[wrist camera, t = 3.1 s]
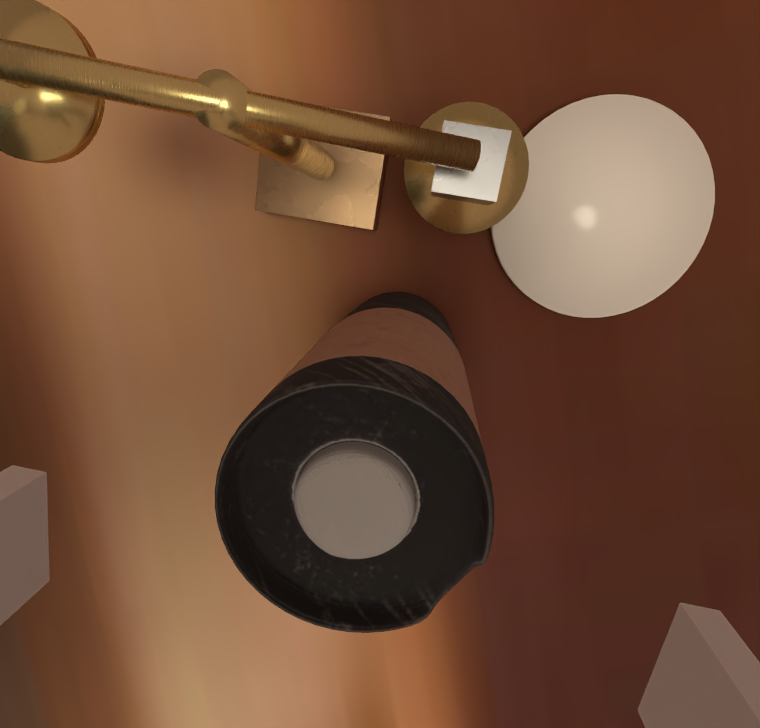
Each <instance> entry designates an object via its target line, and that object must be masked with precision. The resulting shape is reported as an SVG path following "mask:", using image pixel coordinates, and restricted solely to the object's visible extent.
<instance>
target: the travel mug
mask: <svg viewBox="0 0 760 728" xmlns="http://www.w3.org/2000/svg"><path fill="white" fill-rule="evenodd" d="M215 510H216V517H217V523H218V527H219V530H220V534H221V537H222V540H223V542H224V544H225V547H226V549H227V551H228V553H229V555H230V557H231V558H232V560H233V562H234V563H235V565H236V567H237V568H238V570H239V571H240V572H241V573H242V575H243V576H244V577H245V579H246V580H247V581H248V582H249V583H250V584H251V585H252V586H253V587H254V588H255V589H256V590H257V591H258V592H259V593H260V594H261V595H263V596H264V597H265V598H266V599H268V600H269V601H270V602H271V603H273V604H274V605H276V606H277V607H279V608H281V609H282V610H284V611H285V612H287V613H289V614H291V615H293V616H295V617H297V618H299V619H301V620H304V621H306V622H309V623H312V624H314V625H317V626H321V627H325V628H329V629H333V630H339V631H346V632H361V633H370V632H384V631H390V630H396V629H401V628H405V627H408V626H412V625H414V624H417V623H419V622H421V621H423V620H424V619H425V618H427V616H428V615H429V614H430V613H431V611H432V610H433V608H434V607H435V605H436V604H437V603H438V601H439V600H440V599H441V598H442V597H443V596H444V595H445V594H446V593H447V592H448V591H449V590H450V589H451V588H452V587H453V586H454V585H456V584H457V583H458V582H459V581H460V580H461V579H462V578H463V577H464V576H465V575H466V574H467V573H468V572H469V571H471V570H472V569H473V568H474V567H475V566H477V565H482V564H484V563H485V561H486V559H487V557H488V554H489V551H490V547H491V542H492V537H493V528H494V499H493V492H492V485H491V480H490V475H489V471H488V467H487V462H486V458H485V454H484V450H483V445H482V441H481V437H480V432H479V428H478V424H477V419H476V415H475V411H474V406H473V402H472V398H471V393H470V389H469V385H468V381H467V376H466V372H465V368H464V365H463V361H462V358H461V356H460V353H459V351H458V348H457V346H456V343H455V341H454V338H453V336H452V333H451V331H450V329H449V327H448V324H447V322H446V321H445V319H444V318H443V316H442V315H441V314H440V312H439V311H438V310H437V309H436V308H435V307H434V306H433V305H432V304H430V303H429V302H427V301H426V300H424V299H422V298H420V297H418V296H415V295H412V294H408V293H400V292H395V293H386V294H382V295H379V296H376V297H374V298H371V299H369V300H368V301H366V302H365V303H363V304H362V305H360V306H359V307H358V308H356V309H355V310H354V311H352V312H351V313H350V314H348V315H347V316H346V317H344V318H343V319H342V320H341V321H339V322H338V323H337V324H336V325H335V326H333V327H332V328H331V329H330V330H329V331H328V332H327V333H326V334H325V335H324V336H323V337H322V338H321V339H320V340H319V341H318V343H317V344H316V345H315V346H314V347H313V348H312V349H311V350H310V351H309V352H308V353H307V354H306V355H305V356H304V357H303V358H302V359H301V360H300V362H299V363H298V364H297V365H296V366H295V367H294V368H293V369H292V370H291V371H290V372H289V373H288V374H287V375H286V376H285V377H284V378H283V379H282V380H281V382H280V383H279V384H278V385H277V386H276V387H275V388H274V389H273V390H272V391H271V392H270V393H269V394H268V395H267V396H266V397H265V398H264V399H263V400H262V401H261V402H260V404H259V405H258V406H257V407H256V408H255V409H254V410H253V411H252V412H251V413H250V414H249V415H248V417H247V418H246V419H245V420H244V421H243V422H242V423H241V425H240V426H239V427H238V429H237V431H236V432H235V434H234V435H233V437H232V438H231V440H230V441H229V443H228V446H227V448H226V450H225V452H224V454H223V456H222V459H221V462H220V466H219V469H218V473H217V478H216V486H215Z"/></svg>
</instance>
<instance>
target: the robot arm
mask: <svg viewBox="0 0 760 728" xmlns="http://www.w3.org/2000/svg"><path fill="white" fill-rule="evenodd" d="M49 581H50V580H49V541H48V503H47V472H43V471H39V470H34V469H29V468H24V467H19V466H14V465H12V466H10V467H8V468H6V469H5V470H3V471H1V472H0V625H1V624H2V623H4V622H5V621H6V620H7V619H8V618H9V617H10V616H11V615H12V614H14V613H15V612H16V611H17V610H18V609H19V608H20V607H21V606H22V605H23V604H25V603H26V602H27V601H28V600H29V599H30V598H31V597H32V596H33V595H34V594H36V593H37V592H38V591H39V590H40V589H41V588H42V587H43V586H44V585H46V584H47V583H48V582H49ZM638 712H639V714H640V717H641V719H642V721H643V724H644V726H645V728H760V662H759V661H758V660H757V659H756V657H755V656H754V655H753V653H752V652H751V651H750V649H749V648H748V647H747V645H746V644H745V643H744V641H743V640H742V639H741V638H740V636H739V635H738V634H737V632H736V631H735V630H734V628H733V627H732V626H731V624H730V623H729V622H728V620H727V619H726V618H725V617H724V615H723V614H722V613H721V611H719V610H714V609H709V608H704V607H699V606H695V605H690V604H685V603H680V604H679V606H678V609H677V612H676V614H675V617H674V619H673V622H672V624H671V627H670V629H669V632H668V634H667V637H666V639H665V642H664V644H663V647H662V649H661V652H660V654H659V657H658V659H657V662H656V664H655V667H654V670H653V672H652V675H651V677H650V680H649V682H648V685H647V687H646V690H645V692H644V695H643V697H642V700H641V702H640V705H639V707H638Z"/></svg>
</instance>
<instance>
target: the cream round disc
mask: <svg viewBox="0 0 760 728" xmlns="http://www.w3.org/2000/svg"><path fill="white" fill-rule="evenodd" d="M524 140H525V143H526V146H527V150H528V156H529V173H528V179H527V183H526V186H525V189H524V191H523V194H522V196H521V198H520V200H519V201H518V203H517V204H516V206H515V207H514V208H513V210H512V211H511V212H510V213H509V214H508V215H507V216H506V217H505V218H504V219H503V220H501V221H500V222H499V223H497V224H495V225H494V226H492V227H490V230H491V238H492V242H493V246H494V250H495V253H496V255H497V258H498V261H499V263H500V265H501V266H502V268H503V270H504V272H505V273H506V275H507V276H508V277H509V279H510V280H511V281H512V283H513V284H514V285H515V286H516V287H517V288H518V289H519V290H520V291H521V292H523V293H524V294H525V295H527V296H528V297H529V298H531V299H532V300H533V301H535V302H537V303H538V304H540V305H542V306H544V307H546V308H548V309H550V310H553V311H555V312H558V313H561V314H565V315H569V316H574V317H584V318H599V317H607V316H614V315H617V314H621V313H625V312H628V311H631V310H633V309H636V308H638V307H641V306H642V305H644V304H646V303H648V302H650V301H652V300H654V299H655V298H656V297H658V296H659V295H661V294H662V293H664V292H665V291H666V290H667V289H669V288H670V287H671V286H672V285H673V284H674V283H675V282H676V281H677V280H678V279H679V278H680V277H681V276H682V275H683V274H684V273H685V272H686V271H687V269H688V268H689V266H690V265H691V264H692V262H693V261H694V259H695V258H696V256H697V255H698V253H699V251H700V249H701V247H702V245H703V243H704V241H705V238H706V236H707V233H708V231H709V228H710V224H711V220H712V216H713V210H714V202H715V184H714V177H713V170H712V167H711V163H710V160H709V157H708V154H707V152H706V150H705V148H704V146H703V143H702V142H701V140H700V139H699V137H698V136H697V134H696V133H695V131H694V130H693V129H692V128H691V127H690V126H689V125H688V124H687V122H686V121H685V120H683V119H682V118H681V117H680V116H679V115H677V114H676V113H675V112H674V111H672V110H670V109H668V108H667V107H665V106H663V105H662V104H659V103H657V102H654V101H652V100H649V99H646V98H642V97H637V96H633V95H621V94H613V95H600V96H595V97H590V98H586V99H583V100H580V101H577V102H574V103H571V104H569V105H567V106H565V107H563V108H561V109H559V110H557V111H556V112H554V113H553V114H551V115H550V116H548V117H546V118H545V119H544V120H542V121H541V122H540V123H539V124H538V125H536V126H535V127H534V128H533V129H532V130H531V131H530V132H529V133H528V134H527V135H526V136H525V137H524Z"/></svg>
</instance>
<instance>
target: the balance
mask: <svg viewBox="0 0 760 728" xmlns="http://www.w3.org/2000/svg"><path fill="white" fill-rule="evenodd" d="M105 100H110V101H115V102H120V103H125V104H130V105H135V106H140V107H145V108H150V109H156V110H161V111H166V112H171V113H176V114H181V115H186V116H191V117H196V118H198V120H199V121H200V122H201V123H202V124H203V125H205V126H206V127H208V128H210V129H212V130H214V131H216V132H218V133H220V134H222V135H224V136H227V137H229V138H231V139H233V140H235V141H237V142H239V143H241V144H243V145H245V146H247V147H249V148H252V149H254V150H256V151H258V152H260V160H259V171H258V182H257V193H256V205H255V210H258V211H264V212H270V213H276V214H282V215H288V216H294V217H300V218H306V219H311V220H317V221H323V222H329V223H335V224H341V225H347V226H353V227H359V228H365V229H371V230H377V223H378V217H379V210H380V204H381V197H382V191H383V184H384V178H385V171H386V165H387V158H388V156H392V157H397V158H402V159H405V164H404V179H405V186H406V190H407V193H408V196H409V198H410V200H411V202H412V204H413V206H414V208H415V209H416V210H417V212H418V213H419V214H420V215H421V216H422V217H423V218H424V219H425V220H426V221H427V222H428V223H430V224H431V225H433V226H434V227H436V228H438V229H441V230H443V231H446V232H450V233H457V234H470V233H475V232H479V231H483V230H486V229H488V228H490V227H492V226H494V225H495V224H497V223H499V222H500V221H501V220H503V219H504V218H505V217H506V216H507V215H508V214H509V213H510V212H511V211H512V210H513V208H514V207H515V206H516V204H517V203H518V201H519V200H520V198H521V196H522V194H523V191H524V189H525V186H526V183H527V179H528V173H529V156H528V150H527V146H526V143H525V140H524V137H523V135H522V133H521V132H520V130H519V128H518V127H517V125H516V124H515V123H514V122H513V121H512V120H511V119H510V117H508V116H507V115H506V114H505V113H503V112H502V111H500V110H499V109H497V108H495V107H493V106H490V105H487V104H483V103H479V102H461V103H456V104H452V105H450V106H447V107H444V108H443V109H441V110H439V111H437V112H436V113H434V114H433V115H431V116H430V117H429V118H428V119H427V120H426V121H424V123H423V124H422V125H421V126H420V127H416V126H411V125H407V124H402V123H397V122H393V121H391V118H390V117H388V116H381V115H375V114H369V113H362V112H356V111H349V110H343V109H337V108H330V107H324V106H318V105H313V104H308V103H303V102H299V101H294V100H289V99H285V98H280V97H275V96H271V95H266V94H261V93H257V92H252V91H251V90H250V89H249V88H247V87H246V86H245V85H244V84H242V83H241V82H240V81H239V80H237V79H236V78H235V77H234V76H232V75H231V74H230V73H228V72H226V71H223V70H219V69H213V70H209V71H206V72H204V73H203V74H201V75H200V76H199V77H198V78H197V80H196V79H191V78H186V77H182V76H177V75H172V74H167V73H163V72H158V71H153V70H149V69H144V68H139V67H135V66H130V65H125V64H121V63H116V62H111V61H106V60H102V59H97V58H96V55H95V53H94V51H93V49H92V48H91V46H90V44H89V43H88V41H87V40H86V38H85V37H84V36H83V34H82V33H81V32H80V31H79V30H78V29H77V28H76V27H75V26H74V25H73V24H72V23H71V22H70V21H69V20H67V19H66V18H65V17H63V16H62V15H60V14H59V13H57V12H55V11H54V10H52V9H50V8H49V7H47V6H45V5H43V4H41V3H40V2H37V1H35V0H0V151H2V152H4V153H6V154H8V155H10V156H13V157H15V158H18V159H23V160H27V161H33V162H38V163H57V162H62V161H65V160H68V159H71V158H72V157H74V156H76V155H78V154H79V153H80V152H81V151H83V150H84V149H85V148H86V147H87V146H88V145H89V144H90V142H91V141H92V140H93V138H94V136H95V135H96V133H97V131H98V129H99V127H100V124H101V120H102V117H103V112H104V104H105Z"/></svg>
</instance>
